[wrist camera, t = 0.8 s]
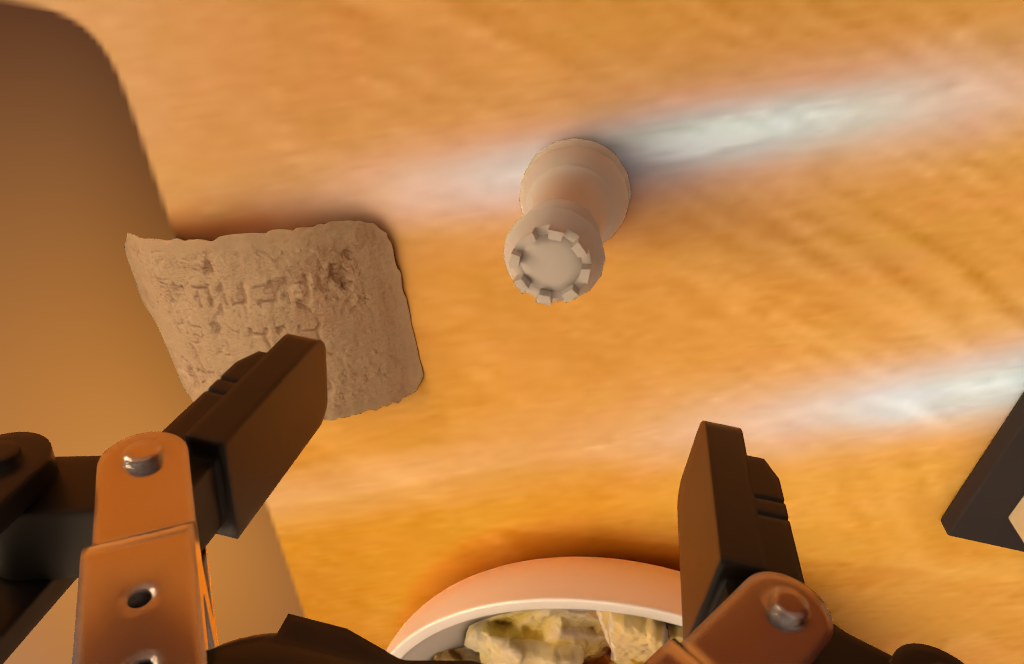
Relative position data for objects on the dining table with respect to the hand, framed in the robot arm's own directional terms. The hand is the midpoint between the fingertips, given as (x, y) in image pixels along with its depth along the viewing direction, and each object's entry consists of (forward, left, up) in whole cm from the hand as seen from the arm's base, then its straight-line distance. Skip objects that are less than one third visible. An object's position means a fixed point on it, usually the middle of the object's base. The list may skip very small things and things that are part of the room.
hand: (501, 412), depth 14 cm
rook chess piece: (0, 0, -16) cm, 16 cm away
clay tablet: (+9, -14, -16) cm, 23 cm away
